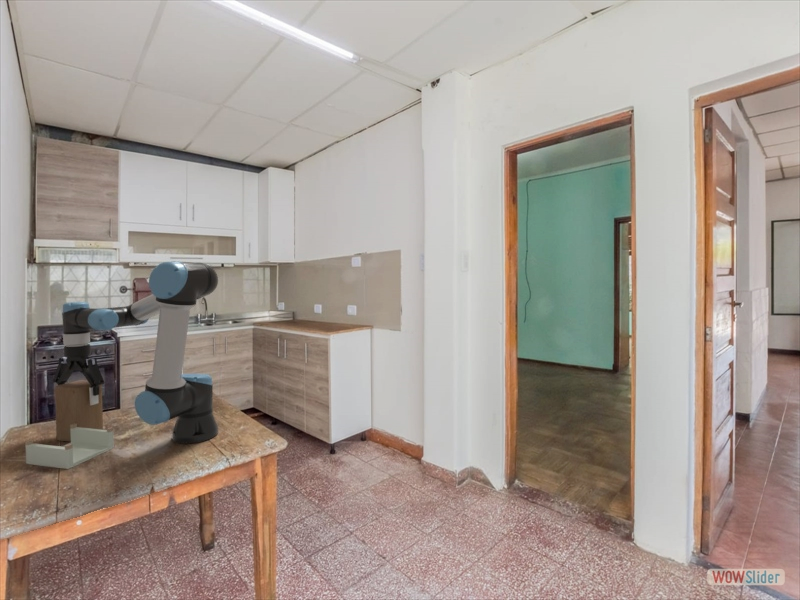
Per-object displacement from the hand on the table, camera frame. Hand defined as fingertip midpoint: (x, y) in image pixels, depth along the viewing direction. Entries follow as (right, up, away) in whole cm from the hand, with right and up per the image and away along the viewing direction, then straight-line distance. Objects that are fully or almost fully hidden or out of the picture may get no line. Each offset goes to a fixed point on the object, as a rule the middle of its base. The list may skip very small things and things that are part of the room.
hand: (79, 402), depth 145 cm
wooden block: (0, -13, +1) cm, 13 cm away
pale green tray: (+9, -14, -14) cm, 22 cm away
